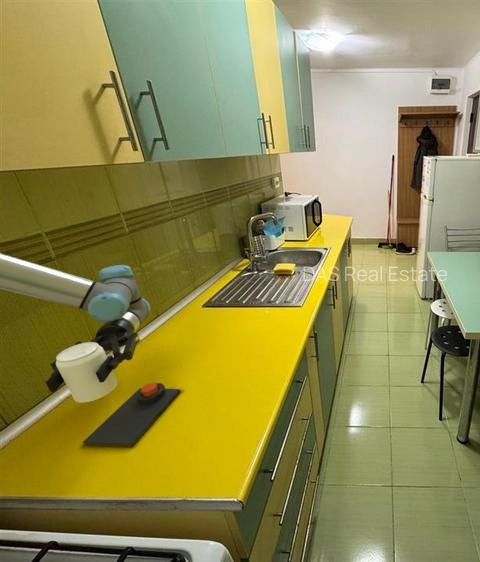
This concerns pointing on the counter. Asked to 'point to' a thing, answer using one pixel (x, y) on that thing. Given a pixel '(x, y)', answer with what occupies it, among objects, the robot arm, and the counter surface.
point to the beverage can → (85, 372)
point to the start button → (149, 389)
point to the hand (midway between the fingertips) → (75, 382)
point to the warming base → (132, 418)
